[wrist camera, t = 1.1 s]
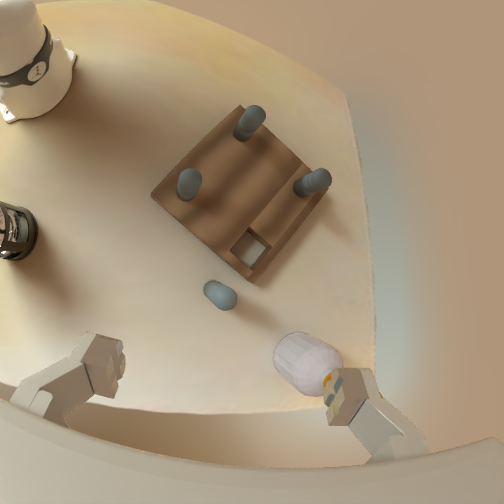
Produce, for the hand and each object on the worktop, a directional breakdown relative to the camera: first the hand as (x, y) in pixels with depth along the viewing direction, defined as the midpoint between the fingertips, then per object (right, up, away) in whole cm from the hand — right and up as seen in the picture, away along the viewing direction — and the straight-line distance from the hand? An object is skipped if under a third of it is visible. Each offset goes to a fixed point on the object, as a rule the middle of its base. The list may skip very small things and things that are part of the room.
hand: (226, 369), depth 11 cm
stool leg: (-6, -2, +41) cm, 42 cm away
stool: (-1, +15, +43) cm, 45 cm away
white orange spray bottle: (+9, -15, +46) cm, 49 cm away
